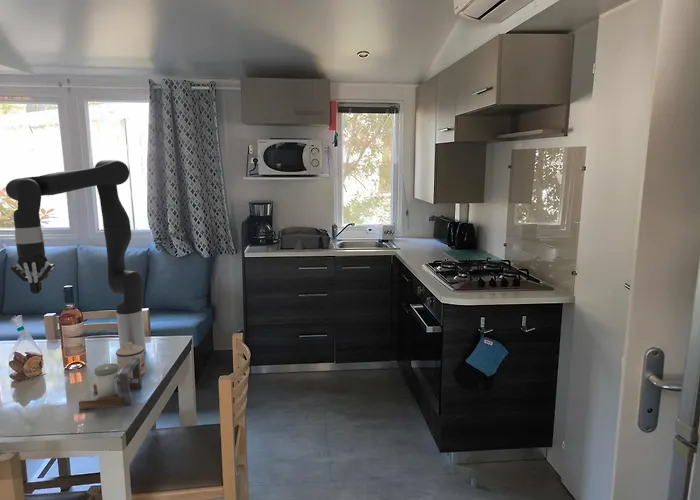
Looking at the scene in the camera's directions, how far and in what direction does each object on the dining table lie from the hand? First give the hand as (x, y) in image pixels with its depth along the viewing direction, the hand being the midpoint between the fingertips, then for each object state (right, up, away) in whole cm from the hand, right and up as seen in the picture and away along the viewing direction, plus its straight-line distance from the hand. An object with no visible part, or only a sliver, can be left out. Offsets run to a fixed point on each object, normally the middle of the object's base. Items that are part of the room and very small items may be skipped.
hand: (36, 293), depth 160 cm
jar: (+27, -33, -6) cm, 43 cm away
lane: (+27, -33, -6) cm, 43 cm away
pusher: (+33, -32, -5) cm, 46 cm away
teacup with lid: (+26, -30, +14) cm, 42 cm away
